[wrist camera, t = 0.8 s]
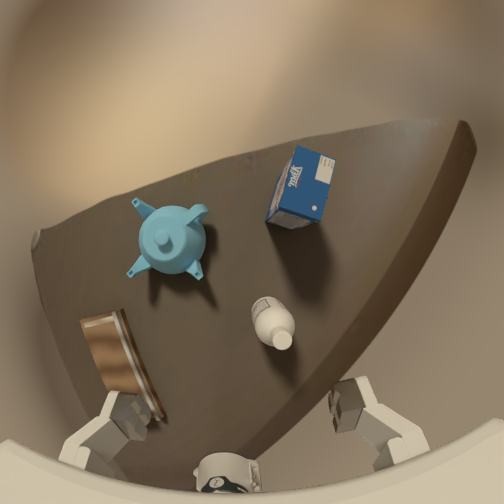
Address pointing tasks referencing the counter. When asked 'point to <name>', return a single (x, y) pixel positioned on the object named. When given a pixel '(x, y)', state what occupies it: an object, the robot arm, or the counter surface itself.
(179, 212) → the teapot
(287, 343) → the bath foam
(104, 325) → the walnut board
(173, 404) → the counter surface
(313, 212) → the milk carton
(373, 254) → the counter surface
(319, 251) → the counter surface
